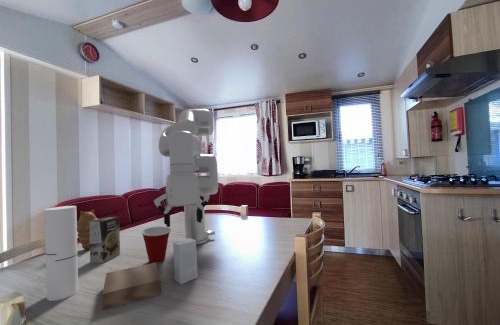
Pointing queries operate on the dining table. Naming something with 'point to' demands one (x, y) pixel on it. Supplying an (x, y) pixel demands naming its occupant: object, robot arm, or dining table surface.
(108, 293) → the walnut base
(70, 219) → the cylindrical container
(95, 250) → the coffee box
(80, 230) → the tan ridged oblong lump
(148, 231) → the plastic cup
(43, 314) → the dining table surface
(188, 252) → the skincare box
